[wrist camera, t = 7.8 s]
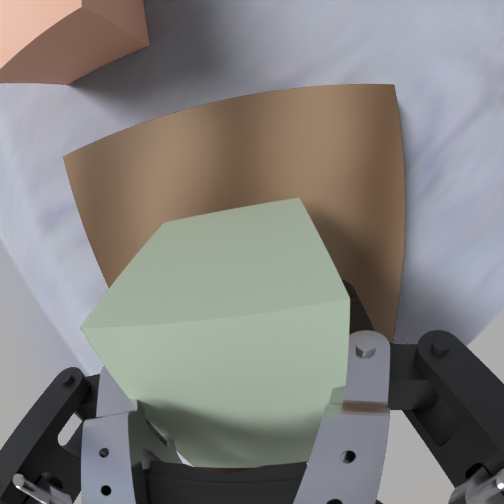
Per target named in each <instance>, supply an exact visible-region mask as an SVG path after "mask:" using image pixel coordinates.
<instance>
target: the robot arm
mask: <svg viewBox="0 0 504 504" xmlns="http://www.w3.org/2000/svg"><path fill="white" fill-rule="evenodd" d="M342 282H343V284H344V286H345V289H346V291H347V293H348V295H349V297H350V325H349V347H348V363H347V376H346V386H341V387H336V388H332V393H331V397H330V400H329V403H327V404H326V406H325V409H324V412H323V416H322V420H321V423H320V427H319V430H318V433H317V437H316V440H315V443H314V446H313V450H312V453H311V456H310V459H309V462H308V465H307V462H306V461H304V462H297V463H287V464H276V465H264V466H260V467H257V468H253V469H249V470H245V471H240V472H236V473H231V474H226V475H220V474H215V473H212V472H208V471H205V470H201V469H198V468H195V467H192V466H189V465H186V464H183V463H182V461H181V460H180V458H179V456H178V454H177V452H176V448H175V443H174V441H173V440H172V439H171V438H170V437H169V436H163V435H161V434H160V433H159V432H158V431H157V430H156V429H155V428H154V427H153V426H152V425H151V424H150V422H149V421H148V420H147V419H146V416H145V409H144V408H143V406H142V405H141V404H140V403H139V401H138V400H137V399H129V398H128V397H127V395H126V394H125V393H124V391H123V390H122V389H121V388H120V386H119V385H118V384H117V382H116V381H115V380H114V378H113V377H112V376H111V374H110V373H109V371H108V370H107V369H106V367H105V366H103V368H102V370H101V373H100V374H97V375H93V376H88V377H85V375H84V374H83V373H82V372H81V370H80V369H79V368H76V367H70V368H67V369H65V370H63V371H62V372H61V373H60V374H58V376H57V377H56V378H55V379H54V380H53V382H52V383H51V384H50V385H49V387H48V388H47V389H46V390H45V391H44V393H43V394H42V395H41V396H40V398H39V399H38V400H37V401H36V403H35V404H34V405H33V407H32V408H31V409H30V410H29V412H28V413H27V414H26V416H25V417H24V418H23V420H22V421H21V422H20V424H19V425H18V426H17V428H16V429H15V430H14V432H13V433H12V435H11V436H10V437H9V439H8V440H7V442H6V443H5V444H4V446H3V447H2V449H1V450H0V504H73V503H74V501H75V500H76V498H77V496H78V494H79V493H80V491H81V494H82V504H383V503H381V502H380V501H378V500H377V499H376V498H377V494H378V490H379V485H380V481H381V476H382V470H383V465H384V459H385V453H386V446H387V439H388V431H389V421H390V410H402V411H403V412H404V414H405V415H406V417H407V418H408V419H409V421H410V422H411V424H412V425H413V427H414V428H415V429H416V431H417V432H418V434H419V435H420V437H421V438H422V440H423V441H424V442H425V444H426V445H427V447H428V448H429V450H430V451H431V452H432V454H433V456H434V457H435V459H436V460H437V461H438V463H439V464H440V466H441V467H442V469H443V470H444V472H445V473H446V475H447V476H448V478H449V479H450V481H451V483H452V484H453V485H454V487H455V489H454V491H453V492H452V494H451V496H450V499H449V503H448V504H504V384H503V383H502V382H501V381H500V380H499V379H498V378H497V377H496V376H495V375H494V374H493V373H492V372H491V371H490V370H489V369H488V368H487V367H486V366H485V365H484V364H483V363H482V362H481V361H480V360H479V359H478V358H477V357H476V356H475V355H474V354H473V353H472V352H471V351H470V350H469V349H468V348H467V347H466V346H465V345H464V344H463V343H462V342H461V341H459V340H458V339H457V338H456V337H455V336H454V335H452V334H451V333H449V332H446V331H441V330H435V331H430V332H428V333H426V334H424V335H423V336H422V337H421V338H420V340H419V342H418V344H411V345H401V344H393V343H389V341H388V340H387V339H386V337H385V336H383V335H382V334H380V333H378V332H375V330H374V328H373V326H372V323H371V321H370V319H369V317H368V315H367V313H366V311H365V309H364V307H363V305H362V304H361V301H360V299H359V297H358V296H357V293H356V291H355V289H354V287H353V286H352V285H351V284H350V283H348V282H347V281H345V280H344V279H343V280H342ZM73 413H75V414H76V415H77V416H78V417H79V418H80V419H81V420H82V423H81V424H80V426H79V427H78V429H77V430H76V431H75V433H74V434H73V436H72V437H71V439H70V440H69V442H68V443H67V444H66V445H64V446H60V445H59V443H58V434H59V433H60V431H61V430H62V428H63V427H64V426H65V424H66V423H67V421H68V420H69V418H70V417H71V416H72V414H73Z"/></svg>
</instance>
